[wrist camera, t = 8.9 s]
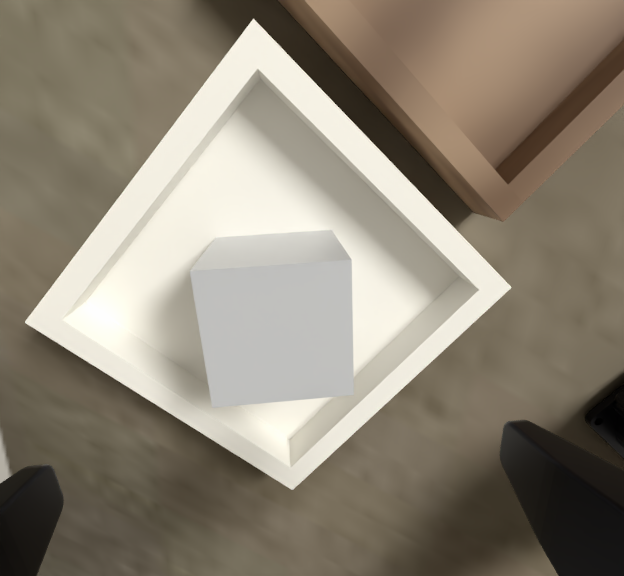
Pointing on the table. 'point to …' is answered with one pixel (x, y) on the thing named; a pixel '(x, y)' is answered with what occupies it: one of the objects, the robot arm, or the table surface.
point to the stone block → (275, 317)
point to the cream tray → (255, 221)
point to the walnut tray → (481, 81)
